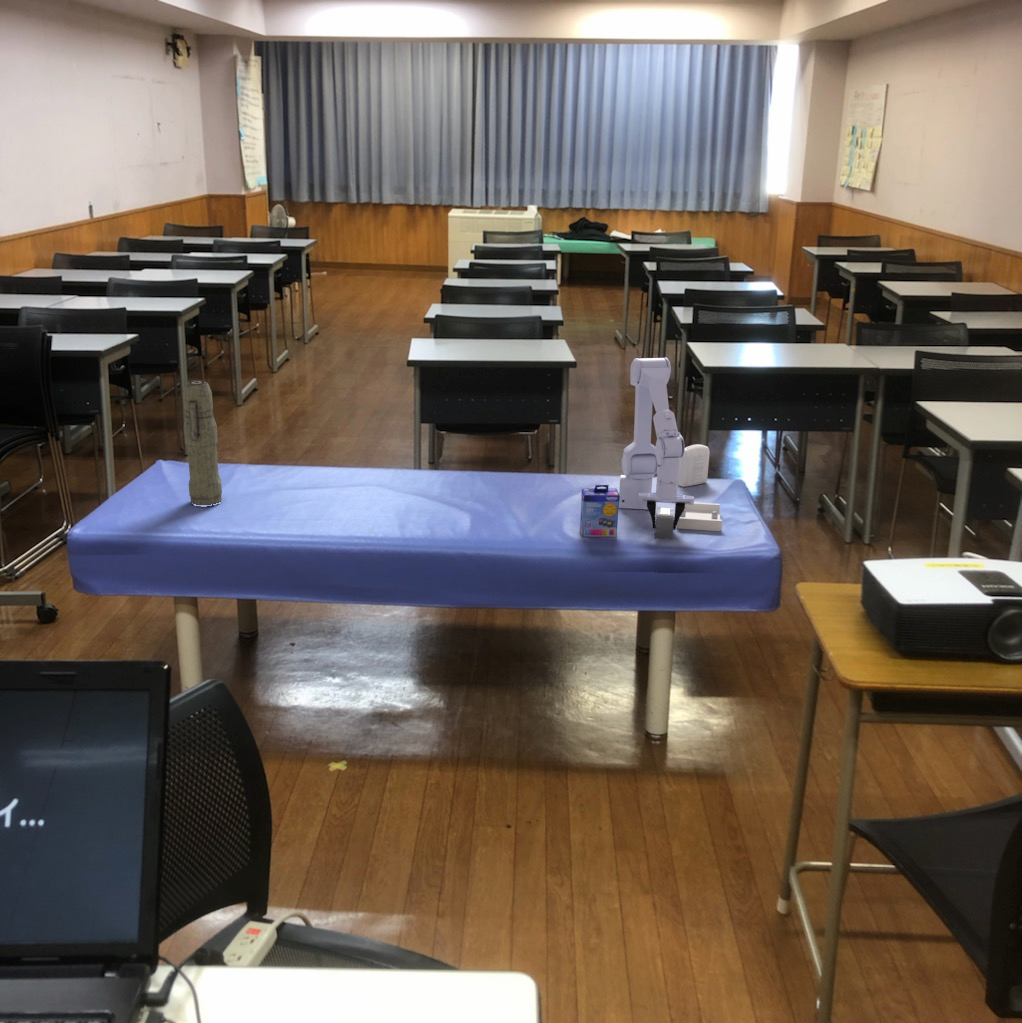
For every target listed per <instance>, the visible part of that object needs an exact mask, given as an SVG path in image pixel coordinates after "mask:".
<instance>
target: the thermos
mask: <svg viewBox="0 0 1022 1023" xmlns="http://www.w3.org/2000/svg"><path fill="white" fill-rule="evenodd" d="M182 397H183V408H184V412H185V415H184V424H183V434H184V435H183V436H184V444H185V446H186V448H187V460H188V470H189V481H188V492H189V493H188V494H189V497H190V503H191V502H192V503H193V504H196V505H211V504H212V505H213V504H216V503H219V502H221V500H222V501H223V497H222V494H223V490H222V489H223V487H222V481H221V477H220V474H219V463H218V449H217V445H218V442H219V439H218V429H217V428H218V426H217V422H216V420H215V417H214V415H215V414H214V413H213V412H214V411H213V410H214V408H213V407H214V406H213V405H214V404H213V403H214V402H213V392H212V390H211V387H210V385H209V383H208V382H207V381H205V380H201V379H198V380H197V379H196V380H195V379H194V380H190V381H188V382H186V383H185V384H184V388H183V391H182Z"/></svg>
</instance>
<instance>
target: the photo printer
mask: <svg viewBox="0 0 1022 1023" xmlns="http://www.w3.org/2000/svg"><path fill="white" fill-rule="evenodd" d="M710 453H711V452H710V448H709V447H708V446H707V445H704V444H701V443H700V444H691V445H689V446H685V451H684V455H683V457H680V467H679V480H678V487H682V488H684V487H691V486H698V485H702V484H706V483H707V482H708V476H709V475H708V473H709V464H710V463H709V462H710Z"/></svg>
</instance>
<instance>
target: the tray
mask: <svg viewBox="0 0 1022 1023" xmlns="http://www.w3.org/2000/svg"><path fill="white" fill-rule="evenodd" d="M720 508H721V504H720V503H711V502H696V501H694V504H693V505H689V504H685V509H684V511H683V513H682V514H681V516H680V518H679V520H678V523H677V526H676V529H678V530H679V529H680V530H696V531H708V532H709V531H710V532H722V525H723V520H722V519H721V516H720V514H721V513H720Z"/></svg>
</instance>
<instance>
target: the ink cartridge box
mask: <svg viewBox="0 0 1022 1023" xmlns="http://www.w3.org/2000/svg"><path fill="white" fill-rule="evenodd" d="M602 487H603V488H602ZM619 499H620V495H619V490H618V488H613V487H611V488H609V484H595V486H594V487H591V488H590V487H589V488H581V499H580V500H581V502H580V519H579V520H580V521H579V531H580V536H581V538H592V537H593V538H600V537H601V538H605V537H609V538H616V537H617V536H618V526H619V525H618V524H619V523H618V522H619V521H618V520H619V509H620V508H619Z"/></svg>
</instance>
